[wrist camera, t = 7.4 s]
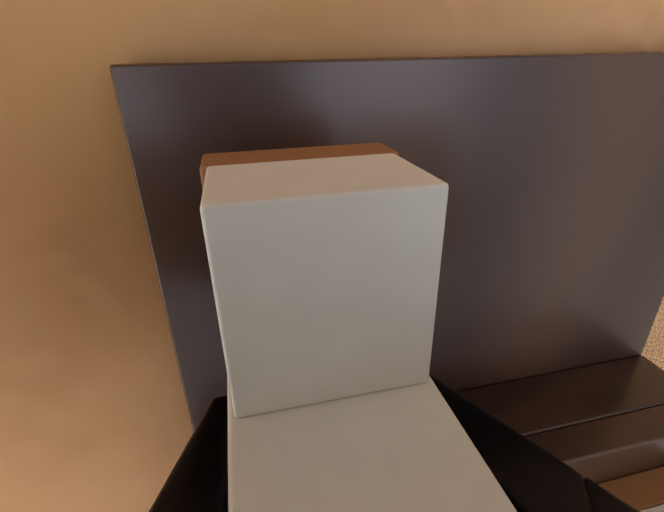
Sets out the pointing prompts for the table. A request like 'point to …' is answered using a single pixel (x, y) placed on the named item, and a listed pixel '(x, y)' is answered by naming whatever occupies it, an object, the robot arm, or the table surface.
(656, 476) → the white l-shaped block
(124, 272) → the table surface
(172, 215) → the shoe rack
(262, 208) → the white stacked box shape
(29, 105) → the table surface
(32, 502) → the table surface
